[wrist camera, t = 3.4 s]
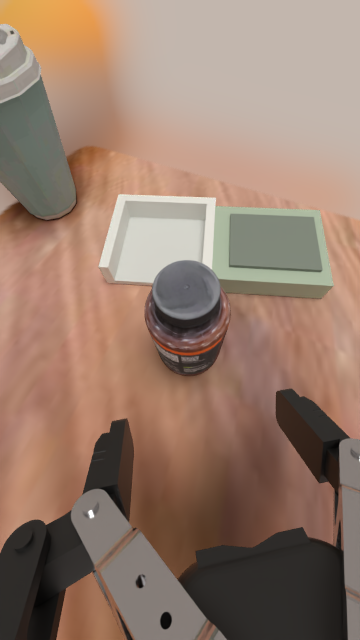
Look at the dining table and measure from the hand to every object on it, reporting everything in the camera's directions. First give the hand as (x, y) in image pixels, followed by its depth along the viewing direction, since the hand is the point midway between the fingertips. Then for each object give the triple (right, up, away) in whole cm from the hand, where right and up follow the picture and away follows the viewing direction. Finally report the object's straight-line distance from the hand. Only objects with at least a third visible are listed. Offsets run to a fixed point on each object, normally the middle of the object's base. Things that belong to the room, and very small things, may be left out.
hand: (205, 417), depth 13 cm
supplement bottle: (0, +2, +12) cm, 12 cm away
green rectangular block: (+8, +12, +15) cm, 21 cm away
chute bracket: (-3, +13, +16) cm, 21 cm away
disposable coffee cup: (-19, +21, +21) cm, 35 cm away
